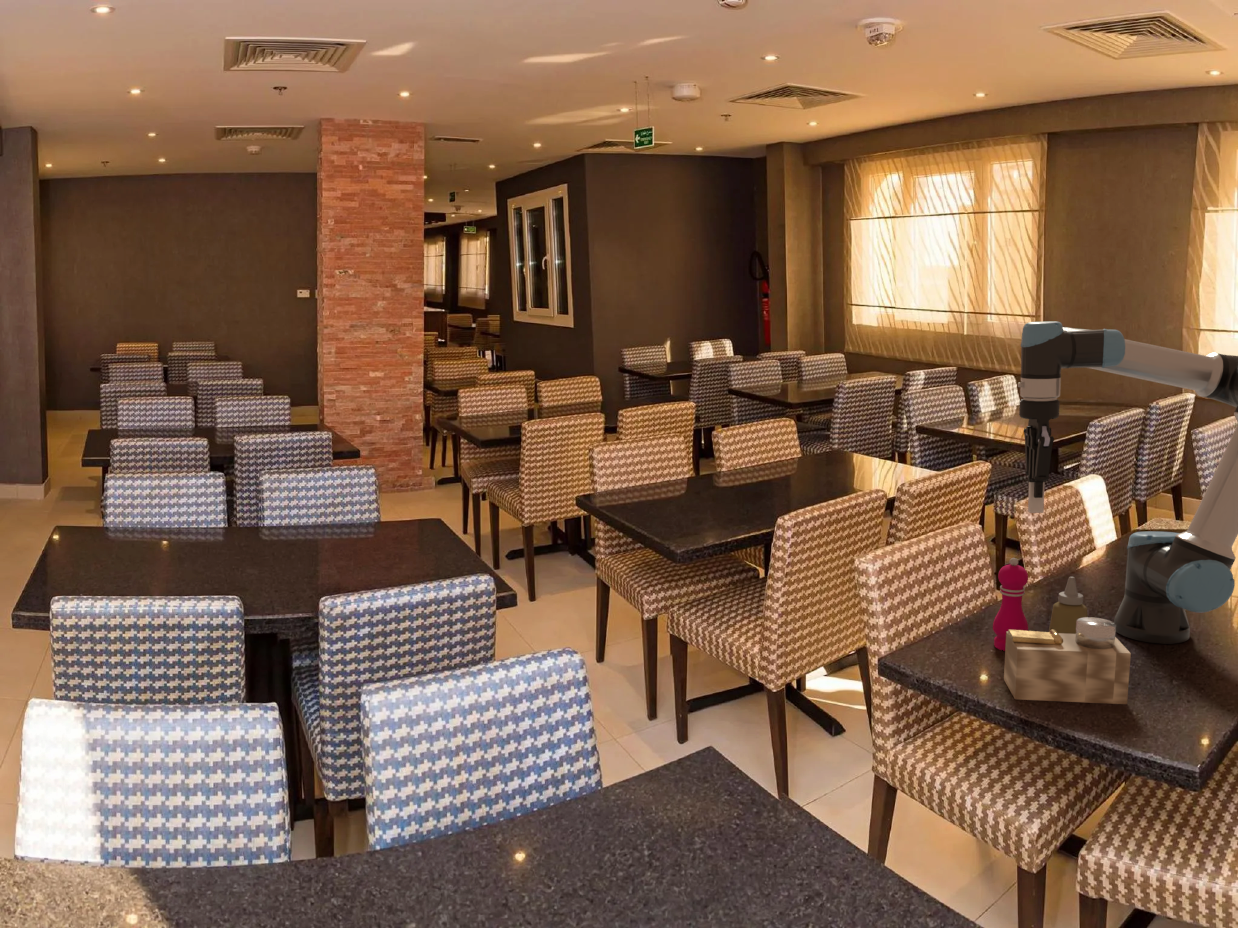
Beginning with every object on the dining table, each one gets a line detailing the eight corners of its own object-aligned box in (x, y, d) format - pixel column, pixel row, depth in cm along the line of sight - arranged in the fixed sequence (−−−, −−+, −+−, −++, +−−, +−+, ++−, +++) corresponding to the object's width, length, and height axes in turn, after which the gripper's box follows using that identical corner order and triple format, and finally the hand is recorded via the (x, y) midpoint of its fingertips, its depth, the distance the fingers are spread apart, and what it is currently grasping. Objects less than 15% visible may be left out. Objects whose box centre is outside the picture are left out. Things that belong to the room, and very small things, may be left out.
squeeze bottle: (1085, 670, 208) (1090, 585, 204) (1042, 663, 212) (1047, 579, 209) (1090, 658, 214) (1096, 575, 211) (1049, 651, 219) (1054, 570, 215)
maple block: (1110, 683, 201) (1113, 635, 199) (1126, 704, 191) (1130, 653, 189) (1003, 679, 204) (1006, 631, 202) (1014, 699, 194) (1017, 648, 192)
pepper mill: (1030, 653, 217) (1035, 563, 214) (994, 652, 219) (999, 561, 215) (1023, 642, 224) (1028, 554, 221) (989, 640, 226) (993, 552, 222)
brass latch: (1056, 637, 198) (1057, 629, 198) (1062, 645, 194) (1063, 637, 193) (1007, 633, 199) (1008, 626, 199) (1012, 641, 195) (1013, 633, 195)
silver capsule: (1105, 676, 199) (1109, 617, 197) (1116, 690, 192) (1121, 629, 190) (1068, 675, 200) (1072, 616, 198) (1078, 688, 193) (1082, 628, 191)
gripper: (1012, 395, 214) (1008, 505, 218) (1029, 402, 201) (1025, 519, 205) (1049, 394, 213) (1045, 505, 217) (1069, 401, 200) (1064, 519, 204)
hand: (1035, 511), depth 211 cm, fingers closed
